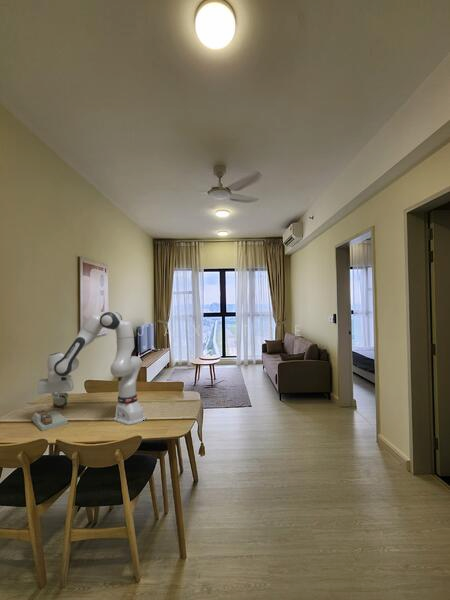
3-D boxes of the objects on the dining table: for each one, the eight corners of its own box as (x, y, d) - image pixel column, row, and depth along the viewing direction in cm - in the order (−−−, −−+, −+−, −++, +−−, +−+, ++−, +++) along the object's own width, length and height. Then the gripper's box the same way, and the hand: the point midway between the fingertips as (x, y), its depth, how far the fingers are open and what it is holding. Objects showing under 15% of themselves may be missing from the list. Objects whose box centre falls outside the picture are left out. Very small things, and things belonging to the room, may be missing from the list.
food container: (72, 406, 211) (72, 392, 212) (65, 409, 206) (65, 395, 206) (58, 405, 215) (58, 391, 215) (52, 408, 209) (51, 394, 209)
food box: (67, 423, 181) (67, 414, 181) (42, 431, 170) (42, 421, 170) (55, 414, 197) (55, 405, 197) (31, 420, 187) (31, 411, 187)
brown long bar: (52, 422, 176) (52, 415, 176) (45, 424, 173) (45, 417, 173) (43, 415, 188) (43, 408, 188) (37, 417, 185) (37, 410, 185)
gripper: (35, 380, 182) (36, 402, 182) (70, 377, 186) (71, 398, 186) (40, 378, 188) (40, 399, 188) (73, 375, 192) (74, 395, 192)
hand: (56, 399), depth 187 cm, fingers closed
